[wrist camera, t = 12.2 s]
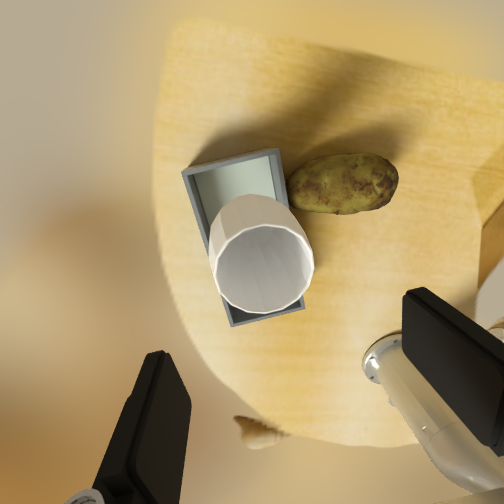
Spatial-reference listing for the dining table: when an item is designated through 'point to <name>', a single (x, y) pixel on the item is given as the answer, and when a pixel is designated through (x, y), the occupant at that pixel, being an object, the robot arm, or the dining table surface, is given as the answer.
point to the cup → (259, 254)
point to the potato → (342, 184)
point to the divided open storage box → (226, 189)
